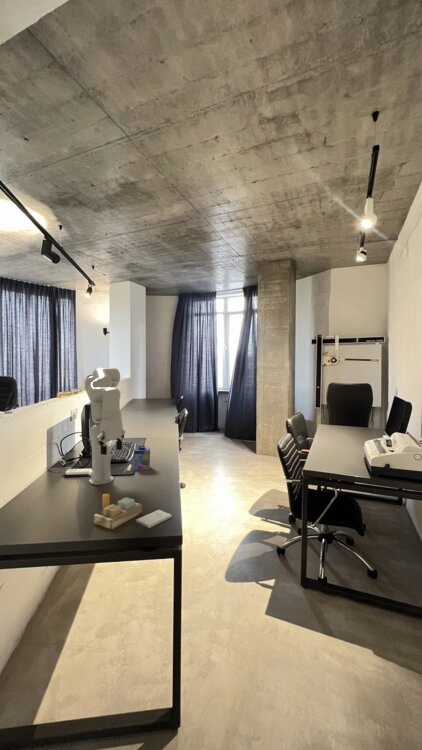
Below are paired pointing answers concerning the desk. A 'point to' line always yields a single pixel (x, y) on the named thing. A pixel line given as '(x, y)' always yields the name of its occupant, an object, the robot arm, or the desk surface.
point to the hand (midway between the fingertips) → (111, 451)
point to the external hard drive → (153, 518)
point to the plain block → (112, 511)
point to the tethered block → (119, 502)
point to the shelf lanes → (118, 517)
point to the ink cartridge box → (141, 458)
